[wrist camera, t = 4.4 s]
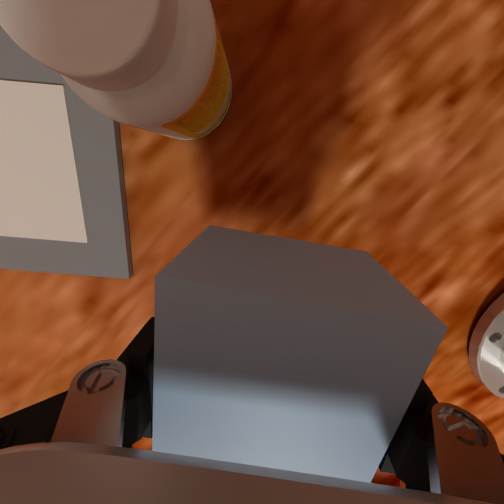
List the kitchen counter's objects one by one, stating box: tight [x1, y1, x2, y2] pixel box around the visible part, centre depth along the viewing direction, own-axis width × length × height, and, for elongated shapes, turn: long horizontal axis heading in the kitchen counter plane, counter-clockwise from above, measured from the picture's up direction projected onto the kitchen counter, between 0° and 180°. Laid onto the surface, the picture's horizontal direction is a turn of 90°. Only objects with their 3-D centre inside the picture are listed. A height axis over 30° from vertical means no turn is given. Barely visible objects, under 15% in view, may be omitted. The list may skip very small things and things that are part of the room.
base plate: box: [0, 25, 133, 279], centre depth 15 cm, size 14×14×1 cm
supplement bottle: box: [0, 0, 232, 140], centre depth 10 cm, size 5×5×10 cm
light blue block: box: [152, 226, 448, 483], centre depth 9 cm, size 6×8×5 cm
